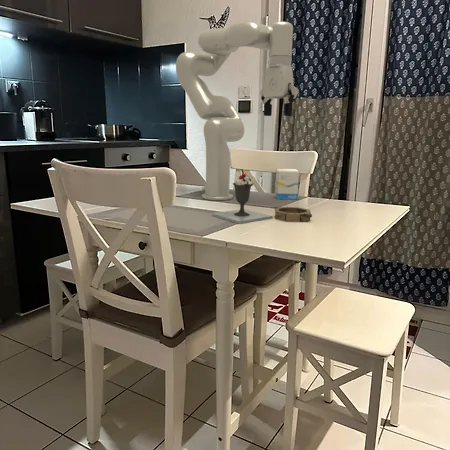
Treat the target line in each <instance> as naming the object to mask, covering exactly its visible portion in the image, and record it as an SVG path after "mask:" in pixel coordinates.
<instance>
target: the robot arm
mask: <svg viewBox="0 0 450 450" xmlns="http://www.w3.org/2000/svg"><path fill="white" fill-rule="evenodd" d="M293 32H294V27H293V24H292V23H290V22H288V21H276V22H273V23H271V24H270V25H269V26H268V25H266V24H261V23H258V22H254V21H253V22H252V21H246V22H237V23H233V24H231V25H230V26H226V27H218V28H217V27H216V28H208V29H205V30H203V31H202V32H201V33H200V34H199V36H198V39H197V41H198V42H197V43H198V45H199V48H200V49H201V50H202V51H203V52H205V53H203V52H197V51H185V52H181V53H180V54H179V55H178V57H177V58H176V63H175V73H176V76H177V79H178V82H179V84H180V85H181V87H182V89H183V90H184V91H185V94H186V96H188V98H189V100H190V102H191V104H192V106H193V108H194V110H195V112H196V114H197V115H198V117H200V119H202V120H206V121H205V123H204V125H203V137H204V142H205V185H204V186H203V187H202V188H201V189H202V190H203V191H204V193H202V194H201V198H202V199H205V200H208V201H209V200H210V201H228V200H233V198H234V195H233V194H232V193H230V184H231V183H230V181H231V180H230V179H231V177H230V175H231V153H230V148H229V146H228V143H232V142H233V143H235V142H238V141H241V139H243V137H244V135H245V125H244V122H243V121H242V118H241V117H240V115H239V113H238V111H237V109H236V108H235V106H234V104H233V103H232V101H231V100H230V99H229V98H228V97H226V96H223V95H222V96H220V95H214V94H213V93H212V92H211V90H210V89H209V87H208V86H207V84H206V83H205V81H204V80H203V79H201V77H211V76H213V75H215V74H216V73H217V72H218V71H219V70H220V69H221V67H222V66H223V65H224V64H225V62H226V61H227V60H228V58H229V57H230V55H231V53H234V52H237V51H238V50H239V48H241V47H248V48H249V47H250V48H253V49H254V48H255V49H259V50H264V51H268V61H267V64H268V65H267V67H266V70H265V75H264V81H263V88H262V89H261V90H260V91H259V95H260V98H261V101H262V104H263V116H264V117H271V116H272V115H273V113H272V112H273V111H272V109H273V104H272V102H273V100H274V99H283V100H284V104H283V105H284V106H283V116H285V117H292V115H293V104H294V103H295V100H296V99H297V97H298V93H299V91H300V90H299V88H298V87H296V86H295V85H294V73H293V67H292V54H293V36H294V35H293V34H294V33H293ZM199 76H201V77H199Z"/></svg>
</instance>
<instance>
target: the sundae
mask: <svg viewBox="0 0 450 450" xmlns="http://www.w3.org/2000/svg"><path fill="white" fill-rule="evenodd" d="M240 170H241V171H240V173H241V174H240V175H239V176H238V178H237V180H236V181H235V182H233V183H232V185H233V187H234V192H235V194H234V195H235V200H236V201H237V203H239V207H240V209H239V210H240V211H239V212H238V213H235V214H234V215H236V216H248V215H249V214H248V213H246V212H245V211H244V209H245V204H247V202H248V201H249V199H250V193H251V188H252V187H253V186H254V183H253V182H252V179H251V178H250V177H249V176H247V174H246V173H244V171H243V168H241V169H240Z"/></svg>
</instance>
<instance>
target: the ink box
mask: <svg viewBox="0 0 450 450" xmlns="http://www.w3.org/2000/svg"><path fill="white" fill-rule="evenodd" d="M275 174H276V175H275V188H274V196H276V197H275V199H276V200H278V199H279V200H280V199H282V200H286V201H287V200H289V201H297V200H298V195H299V178H300V177H299V176H300V171H299V170H298V169H297V168H276V169H275Z"/></svg>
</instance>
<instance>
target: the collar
mask: <svg viewBox="0 0 450 450" xmlns="http://www.w3.org/2000/svg"><path fill="white" fill-rule="evenodd" d="M274 211H275V212H274V219H275V220H279V221H282V222H290V223H291V222H293V223H301V222H302V223H304V222H308V221H309V222H310V221H311V218H312V217H313V214H312V212H311V209H308V208H304V207H299V206H298V207H297V206H283V207H282V206H274Z"/></svg>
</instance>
